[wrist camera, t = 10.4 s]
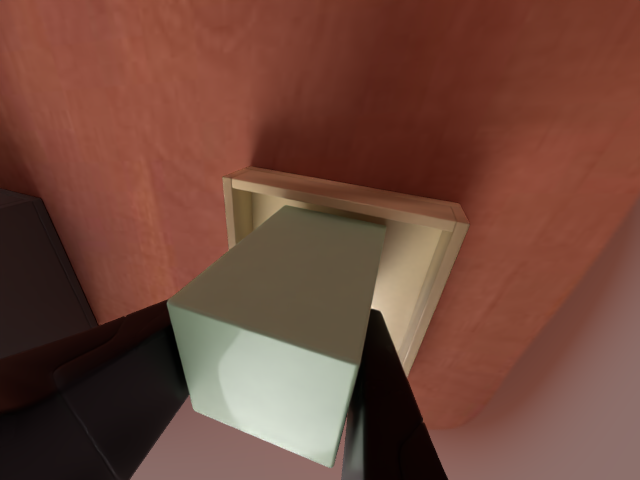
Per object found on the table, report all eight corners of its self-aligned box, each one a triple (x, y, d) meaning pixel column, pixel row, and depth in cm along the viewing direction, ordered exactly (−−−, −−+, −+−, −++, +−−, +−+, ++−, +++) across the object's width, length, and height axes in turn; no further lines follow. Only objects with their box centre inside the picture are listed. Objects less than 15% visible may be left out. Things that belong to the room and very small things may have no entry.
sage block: (386, 224, 10) (360, 365, 4) (367, 307, 11) (332, 470, 6) (284, 203, 10) (164, 300, 5) (282, 283, 12) (191, 411, 7)
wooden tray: (460, 203, 10) (470, 223, 8) (393, 382, 15) (391, 417, 13) (249, 165, 12) (221, 176, 10) (255, 337, 17) (238, 362, 15)
